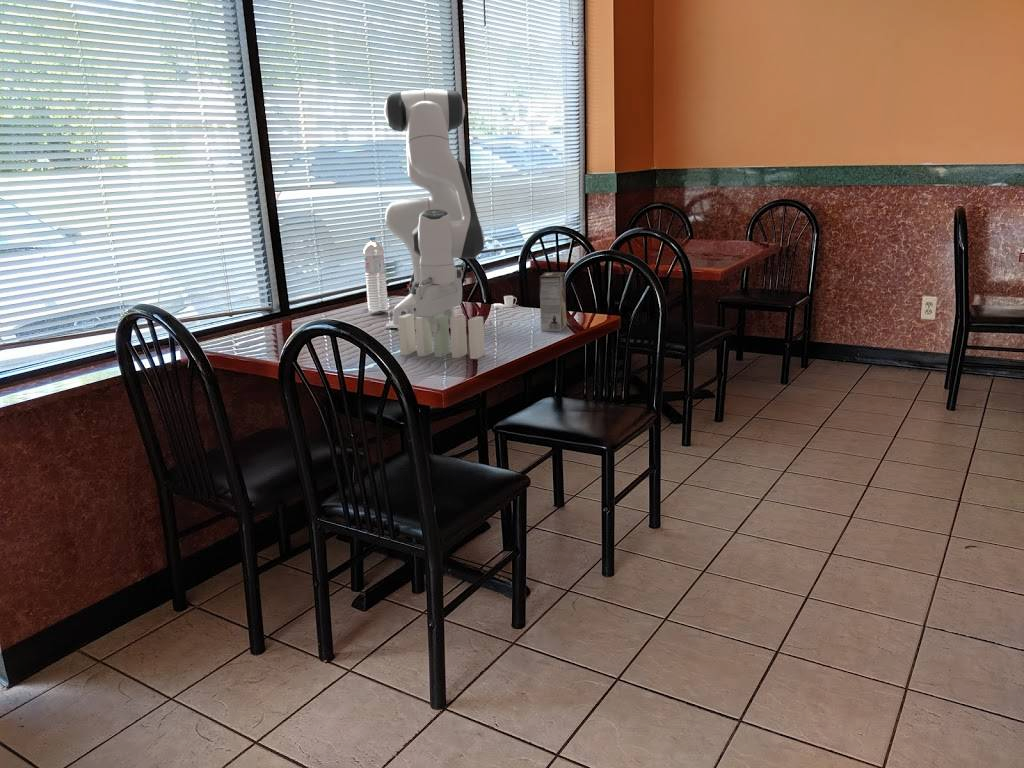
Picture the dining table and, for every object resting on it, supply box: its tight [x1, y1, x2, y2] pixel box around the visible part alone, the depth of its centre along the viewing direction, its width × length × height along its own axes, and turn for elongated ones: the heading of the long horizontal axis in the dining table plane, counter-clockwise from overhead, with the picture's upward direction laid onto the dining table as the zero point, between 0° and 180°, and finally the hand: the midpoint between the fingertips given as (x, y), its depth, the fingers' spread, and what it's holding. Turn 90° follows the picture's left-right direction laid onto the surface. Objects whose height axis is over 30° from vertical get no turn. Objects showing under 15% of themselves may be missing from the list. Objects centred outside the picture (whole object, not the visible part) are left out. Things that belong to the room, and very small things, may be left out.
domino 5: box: [467, 315, 486, 360], centre depth 211 cm, size 2×5×10 cm, turn 159°
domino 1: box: [398, 314, 417, 356], centre depth 219 cm, size 2×5×10 cm, turn 159°
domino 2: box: [415, 317, 434, 357], centre depth 217 cm, size 2×5×10 cm, turn 159°
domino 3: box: [432, 315, 451, 358], centre depth 215 cm, size 2×5×10 cm, turn 159°
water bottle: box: [362, 236, 389, 313], centre depth 281 cm, size 7×7×25 cm
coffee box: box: [538, 271, 567, 332], centre depth 242 cm, size 9×6×16 cm
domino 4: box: [450, 315, 468, 359], centre depth 213 cm, size 2×5×10 cm, turn 159°
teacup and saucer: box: [493, 295, 520, 310], centre depth 280 cm, size 9×8×4 cm
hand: (440, 328), depth 215 cm, fingers open, 6 cm apart
